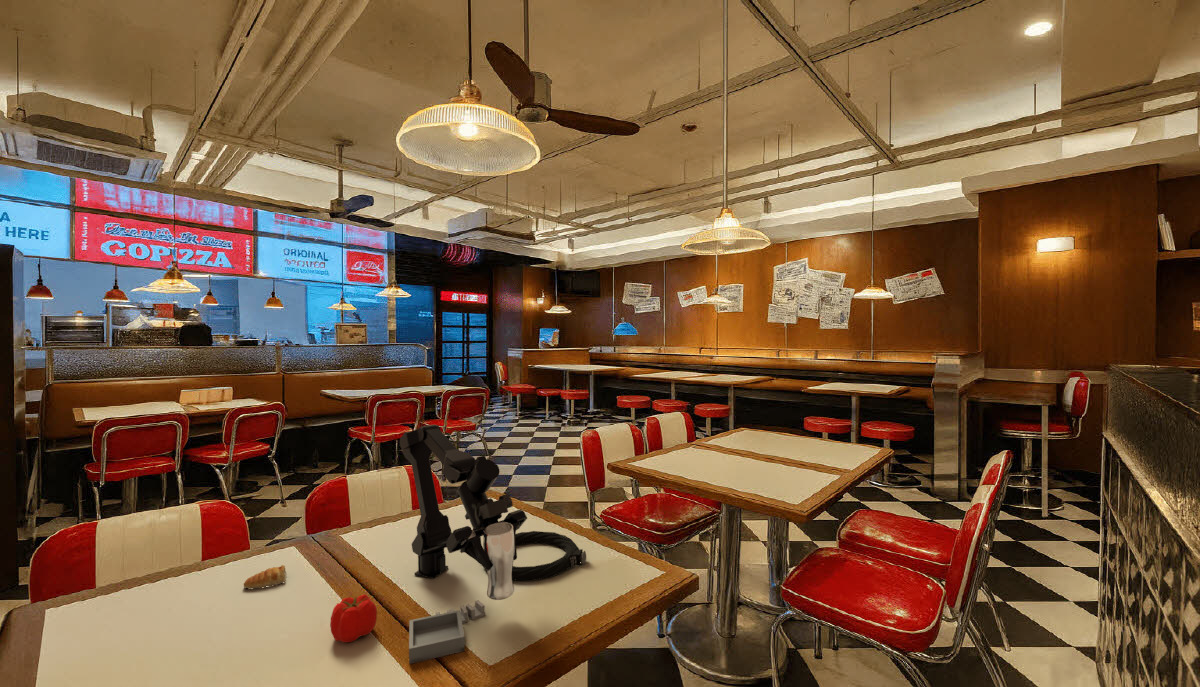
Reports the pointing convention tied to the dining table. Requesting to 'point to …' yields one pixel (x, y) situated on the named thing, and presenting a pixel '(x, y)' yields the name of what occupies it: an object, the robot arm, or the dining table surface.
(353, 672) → the dining table surface
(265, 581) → the pastry
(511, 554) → the beer glass
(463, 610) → the clip
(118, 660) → the dining table surface
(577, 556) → the cable lock
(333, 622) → the tomato
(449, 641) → the holder
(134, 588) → the dining table surface
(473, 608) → the clip
